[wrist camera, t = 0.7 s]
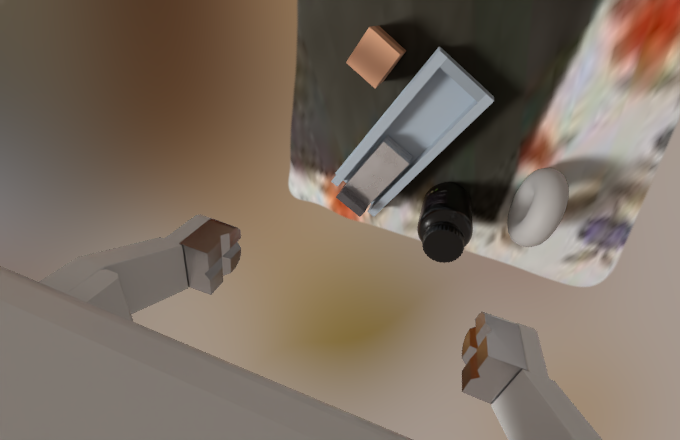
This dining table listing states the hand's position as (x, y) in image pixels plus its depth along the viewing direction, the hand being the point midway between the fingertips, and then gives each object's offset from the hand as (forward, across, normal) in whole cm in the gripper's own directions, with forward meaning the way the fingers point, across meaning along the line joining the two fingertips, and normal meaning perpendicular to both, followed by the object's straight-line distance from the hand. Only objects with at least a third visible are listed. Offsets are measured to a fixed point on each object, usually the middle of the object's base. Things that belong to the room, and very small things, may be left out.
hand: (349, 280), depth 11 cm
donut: (+38, -16, +10) cm, 42 cm away
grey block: (+37, +4, +13) cm, 39 cm away
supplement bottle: (+38, -7, +15) cm, 41 cm away
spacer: (+38, +7, -2) cm, 39 cm away
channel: (+38, +2, +8) cm, 38 cm away
